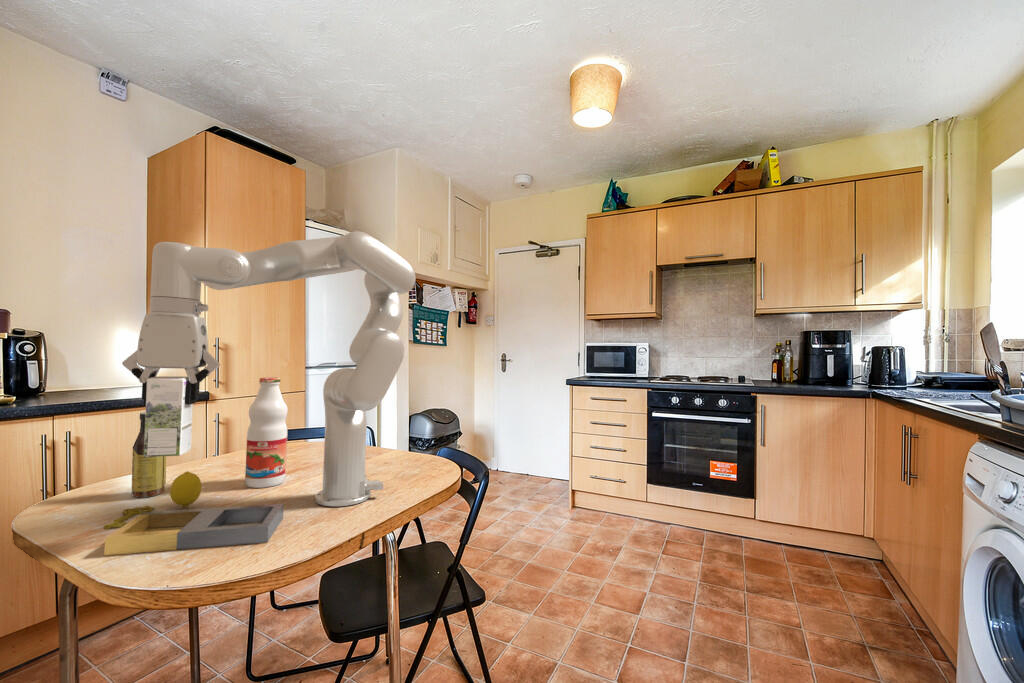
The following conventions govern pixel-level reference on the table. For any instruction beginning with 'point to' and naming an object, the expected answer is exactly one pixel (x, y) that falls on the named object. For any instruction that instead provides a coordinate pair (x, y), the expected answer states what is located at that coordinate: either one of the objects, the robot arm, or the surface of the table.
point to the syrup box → (167, 417)
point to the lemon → (185, 489)
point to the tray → (195, 529)
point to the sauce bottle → (146, 468)
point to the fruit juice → (267, 437)
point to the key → (128, 516)
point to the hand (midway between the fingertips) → (170, 402)
